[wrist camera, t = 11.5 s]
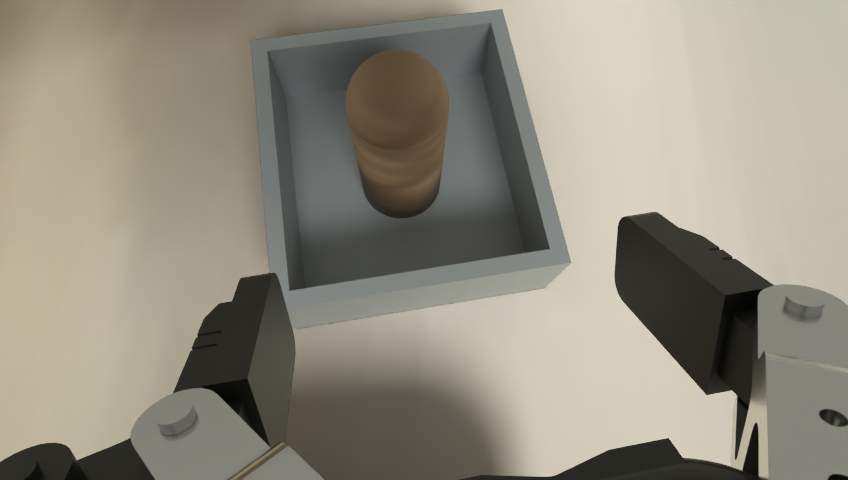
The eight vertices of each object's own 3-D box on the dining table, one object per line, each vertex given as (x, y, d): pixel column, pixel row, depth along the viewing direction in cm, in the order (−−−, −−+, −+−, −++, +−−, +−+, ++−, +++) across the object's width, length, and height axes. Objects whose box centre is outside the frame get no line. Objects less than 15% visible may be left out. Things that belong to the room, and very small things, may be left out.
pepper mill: (367, 223, 29) (346, 129, 19) (358, 153, 30) (333, 32, 21) (446, 212, 29) (462, 113, 20) (433, 143, 30) (442, 19, 21)
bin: (296, 329, 28) (272, 311, 23) (274, 95, 32) (250, 40, 27) (544, 287, 29) (571, 262, 24) (489, 67, 33) (502, 9, 28)
